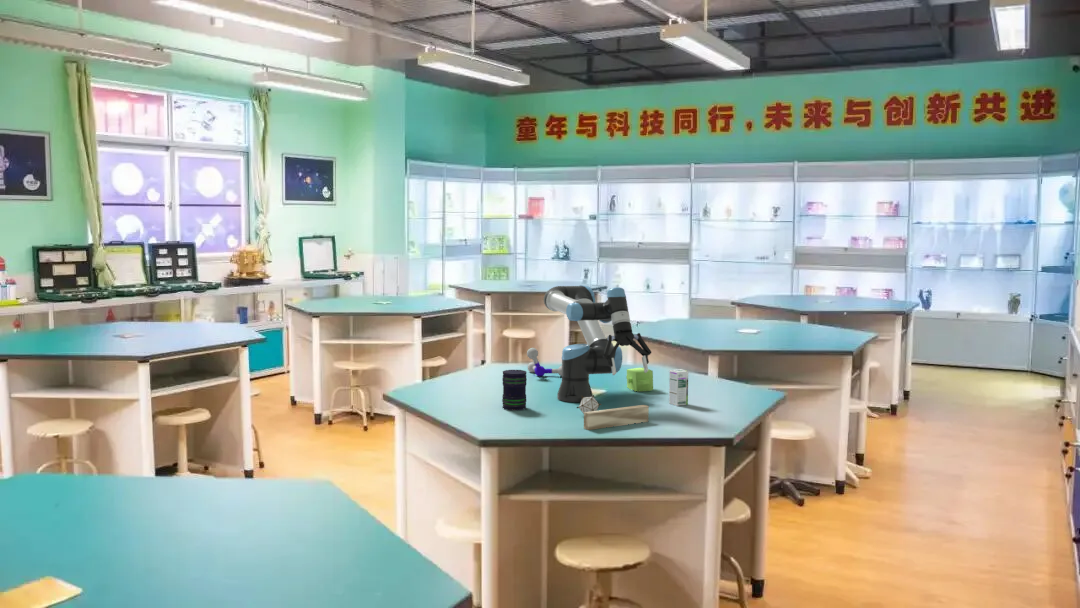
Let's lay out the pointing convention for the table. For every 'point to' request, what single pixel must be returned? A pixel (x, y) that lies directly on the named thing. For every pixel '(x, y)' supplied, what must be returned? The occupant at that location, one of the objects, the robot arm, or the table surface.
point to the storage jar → (514, 389)
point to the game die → (588, 404)
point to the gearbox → (639, 379)
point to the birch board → (615, 417)
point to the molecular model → (535, 366)
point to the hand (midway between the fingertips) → (630, 373)
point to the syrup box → (678, 387)
